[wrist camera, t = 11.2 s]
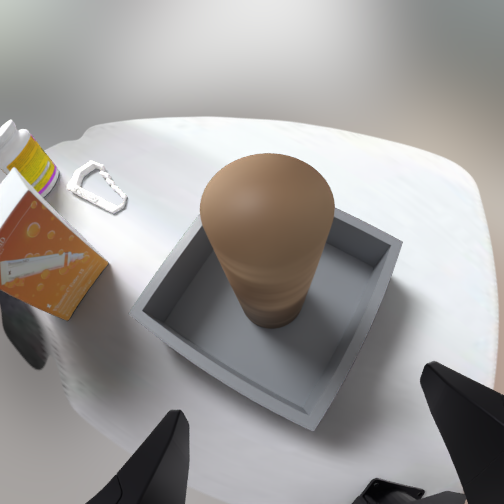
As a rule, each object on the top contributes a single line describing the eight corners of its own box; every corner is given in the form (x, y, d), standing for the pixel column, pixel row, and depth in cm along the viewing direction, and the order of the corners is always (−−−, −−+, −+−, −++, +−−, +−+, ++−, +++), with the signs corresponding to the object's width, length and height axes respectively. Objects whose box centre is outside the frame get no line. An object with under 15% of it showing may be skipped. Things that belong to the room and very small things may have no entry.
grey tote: (381, 267, 23) (402, 241, 18) (305, 418, 18) (313, 431, 13) (244, 200, 27) (238, 166, 22) (155, 326, 22) (128, 313, 18)
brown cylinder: (314, 286, 22) (352, 182, 10) (283, 340, 20) (296, 291, 8) (261, 258, 23) (245, 140, 11) (229, 308, 22) (173, 224, 10)
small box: (69, 322, 23) (-28, 277, 11) (45, 288, 25) (-36, 237, 13) (111, 262, 25) (28, 187, 13) (83, 234, 27) (13, 164, 15)
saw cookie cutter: (146, 187, 30) (141, 179, 29) (121, 220, 29) (115, 213, 27) (87, 163, 33) (82, 156, 31) (66, 189, 31) (60, 182, 30)
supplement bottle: (66, 167, 33) (24, 109, 22) (46, 203, 30) (-5, 147, 19) (44, 169, 34) (4, 119, 22) (25, 202, 31) (-21, 154, 20)
